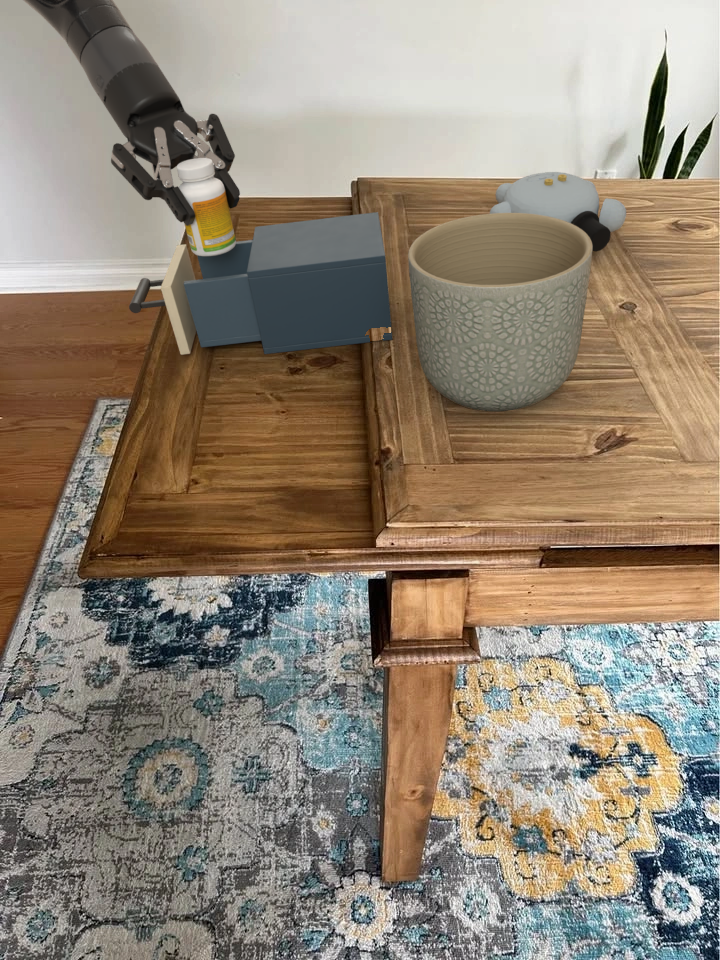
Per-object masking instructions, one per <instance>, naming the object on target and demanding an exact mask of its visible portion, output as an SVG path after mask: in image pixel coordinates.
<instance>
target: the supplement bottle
mask: <svg viewBox="0 0 720 960" xmlns="http://www.w3.org/2000/svg"><path fill="white" fill-rule="evenodd" d="M176 171H177V175H178V179H179V180H180V181H181V182H182V183H181V184H180V185H178V187H179V189H180V191H181V192H182V194H183V195H184V197H185V198H186V200H187V201H188V203H189V204H190V206H191V208H192V209H193V211H194V212H195V219H194V222H193V224H191V225H188V226H186V225H185V224H184V227H185V231H186V235H187V239H188V242H189V247H190V250H191V252H192V253H193V254H194V255H195V256H197V255H198V256H215V255H220V254H223V253H226V252H228V251H230V250H231V249H233V248H234V247H235V245H236V242H237V240H236V234H235V230H234V226H233V225H234V224H233V221H232V215H231V211H230V208H229V206H228V202H227V197H226V192H225V188H224V185H223V183H222V182H221V181H220V180H219V179H217V178H214V174H215V172H214V171H215V170H214V166H213V162H212V160H211V159H208V158H195V159H190V160H186V161H183V162H181V163H179V164H178V165H177V166H176Z"/></svg>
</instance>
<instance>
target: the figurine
mask: <svg viewBox="0 0 720 960" xmlns="http://www.w3.org/2000/svg"><path fill="white" fill-rule="evenodd" d="M495 200H496V201H497V204H494V205H493V206H492V207H491V208H490V210H489V214H493V213H528V214H537V215H543V216H549V217H553V218H557V219H560V220H563V221H566V222H569V223H571V224H573V225H575V226H577V227H579V228H580V229H582V230H583V231H584V232H585V233H586V234H587V235H588V236H589V237H590V239H591V241H592V245H593V249H592V252H599V251H602V250H603V249H605V248H606V246H607V245H608V244H609V242H610V241H611V235H612V234H611V233H613V232H616V231H618V230H619V229H621V228H622V227H623V225H624V223H625V221H626V218H627V208H626V207H625V205H624V204H623V203H622V201H620V200H618V199H615V198H609V197H608V198H605V199H604V200H603V202H602V204H601V205H602V206H601V209H600V196H599V192H598V190H597V188H596V185H595V184H594V182H593V181H590V180H588V179H584V178H582V177H580V176H577V175H575V174H571V173H566V172H561V171H547V172H546V171H545V172H538V173H533V174H529V175H526V176H523V177H521V178H519V179H517V180H516V181H514V182H512V183H510V182H505V183H502V184H500V185H498V187H497V189H496V190H495ZM599 209H600V210H599ZM599 211H600V212H599Z"/></svg>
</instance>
